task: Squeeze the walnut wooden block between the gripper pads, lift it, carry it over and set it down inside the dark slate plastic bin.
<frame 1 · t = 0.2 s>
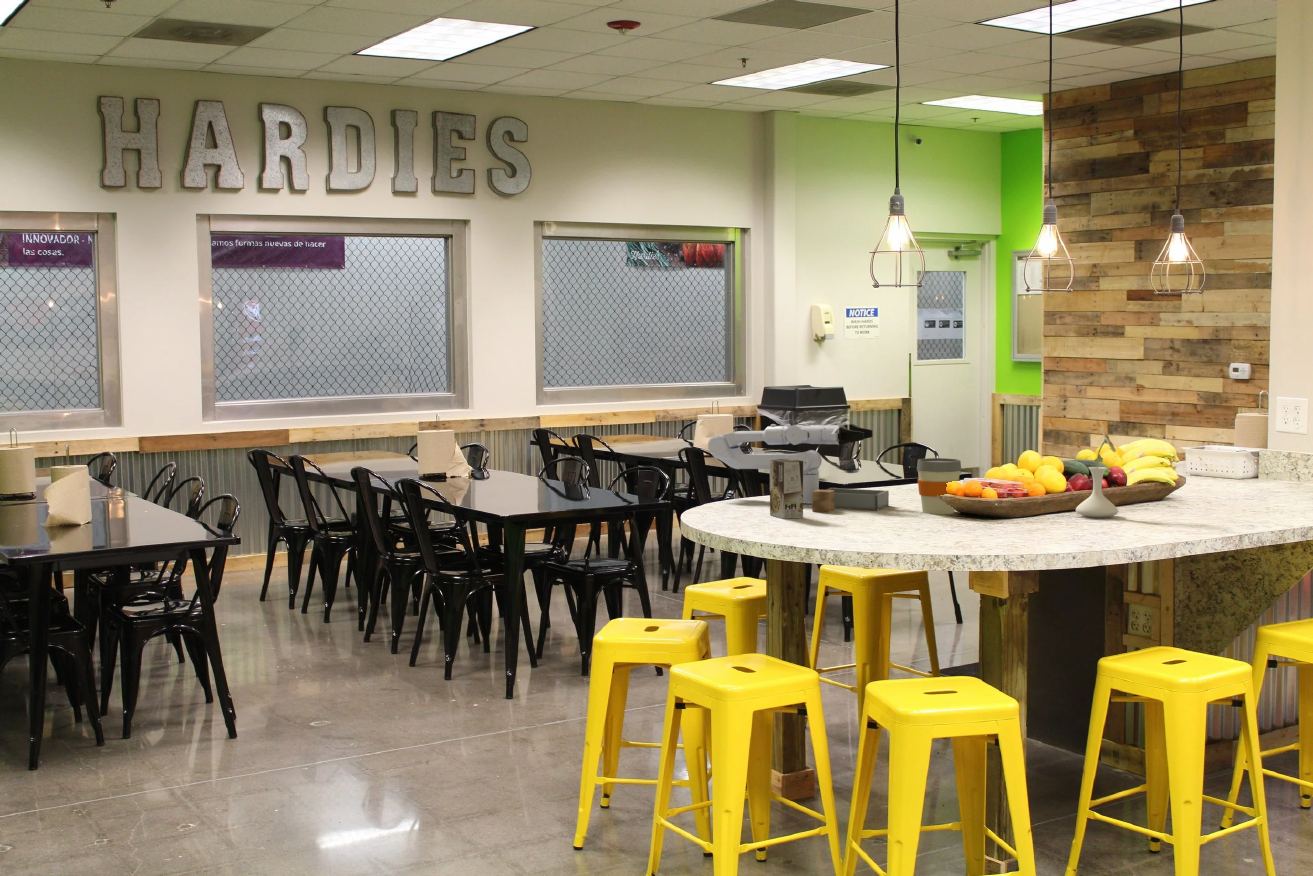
hand: (868, 434, 402), 21 cm above the counter, tool horizontal, fingers open, 7 cm apart
coffee box: (786, 517, 382), on the counter
reusable coffee cup: (938, 512, 389), on the counter
flower in vase: (1097, 517, 378), on the counter
slate bin: (853, 506, 402), on the counter
walnut block: (823, 511, 393), on the counter
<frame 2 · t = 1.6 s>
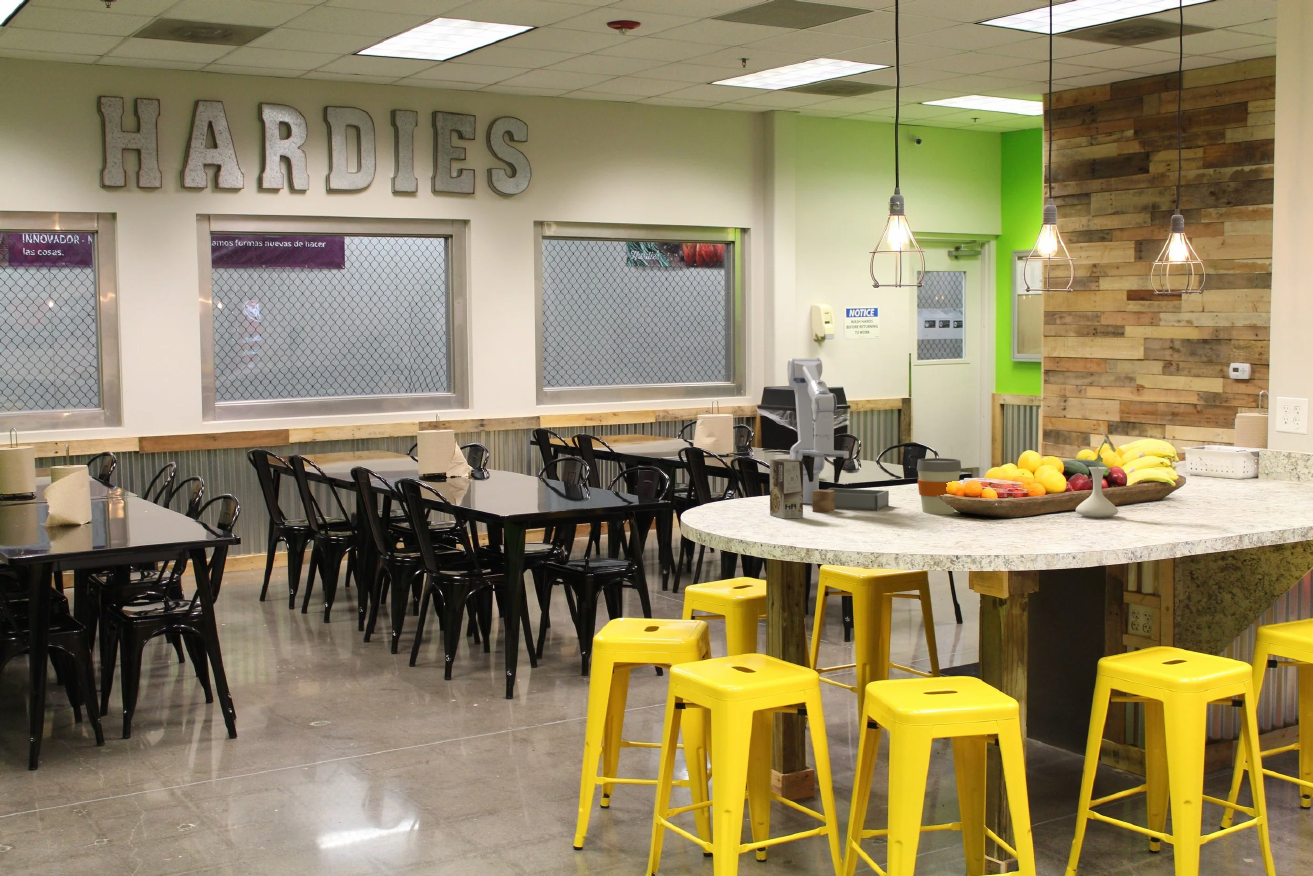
hand: (823, 482, 392), 8 cm above the counter, tool pointing down, fingers open, 7 cm apart
nothing on the counter moved.
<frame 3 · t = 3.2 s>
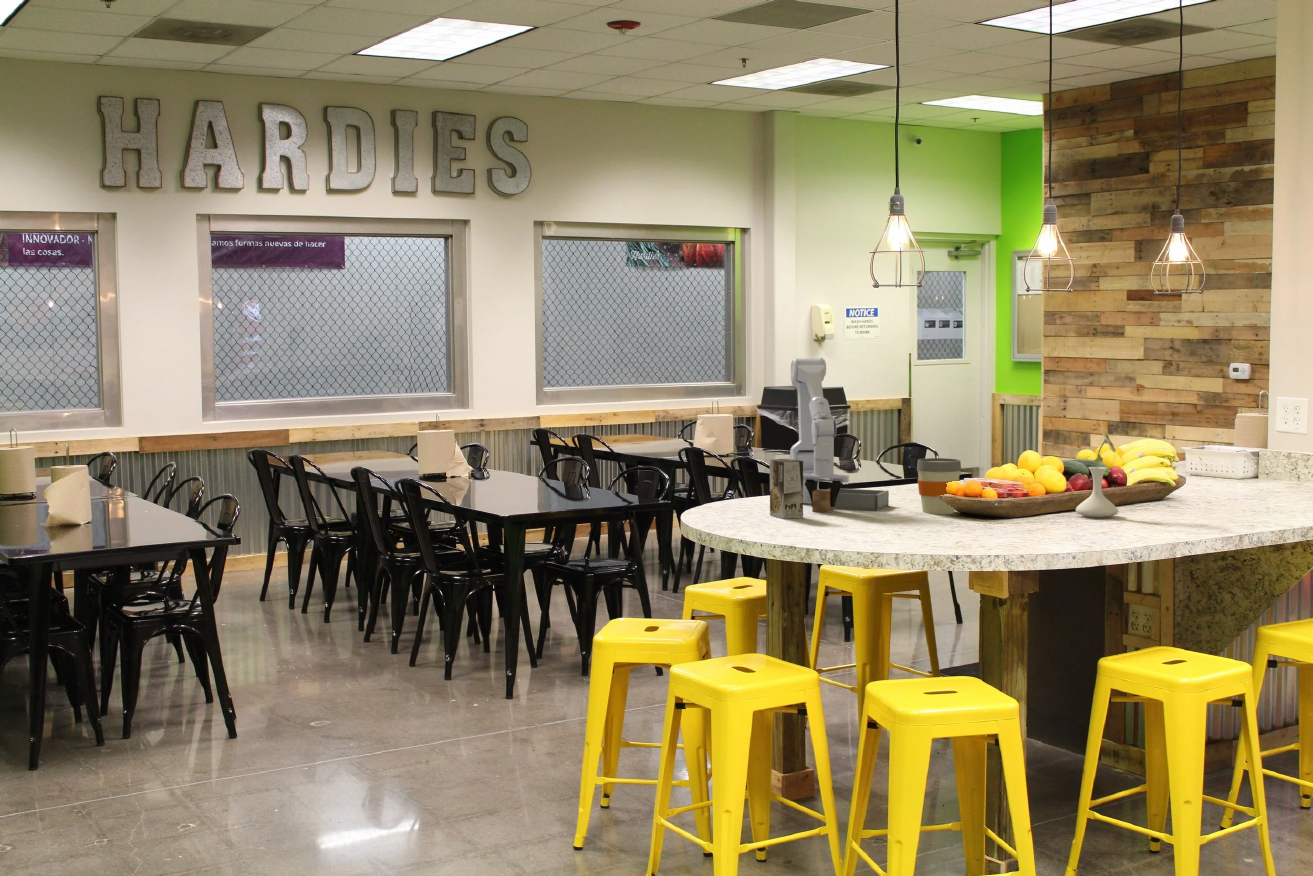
hand: (823, 506, 393), 1 cm above the counter, tool pointing down, fingers closed on walnut block, 5 cm apart
walnut block: (823, 511, 393), on the counter, touching gripper
everything else where it was.
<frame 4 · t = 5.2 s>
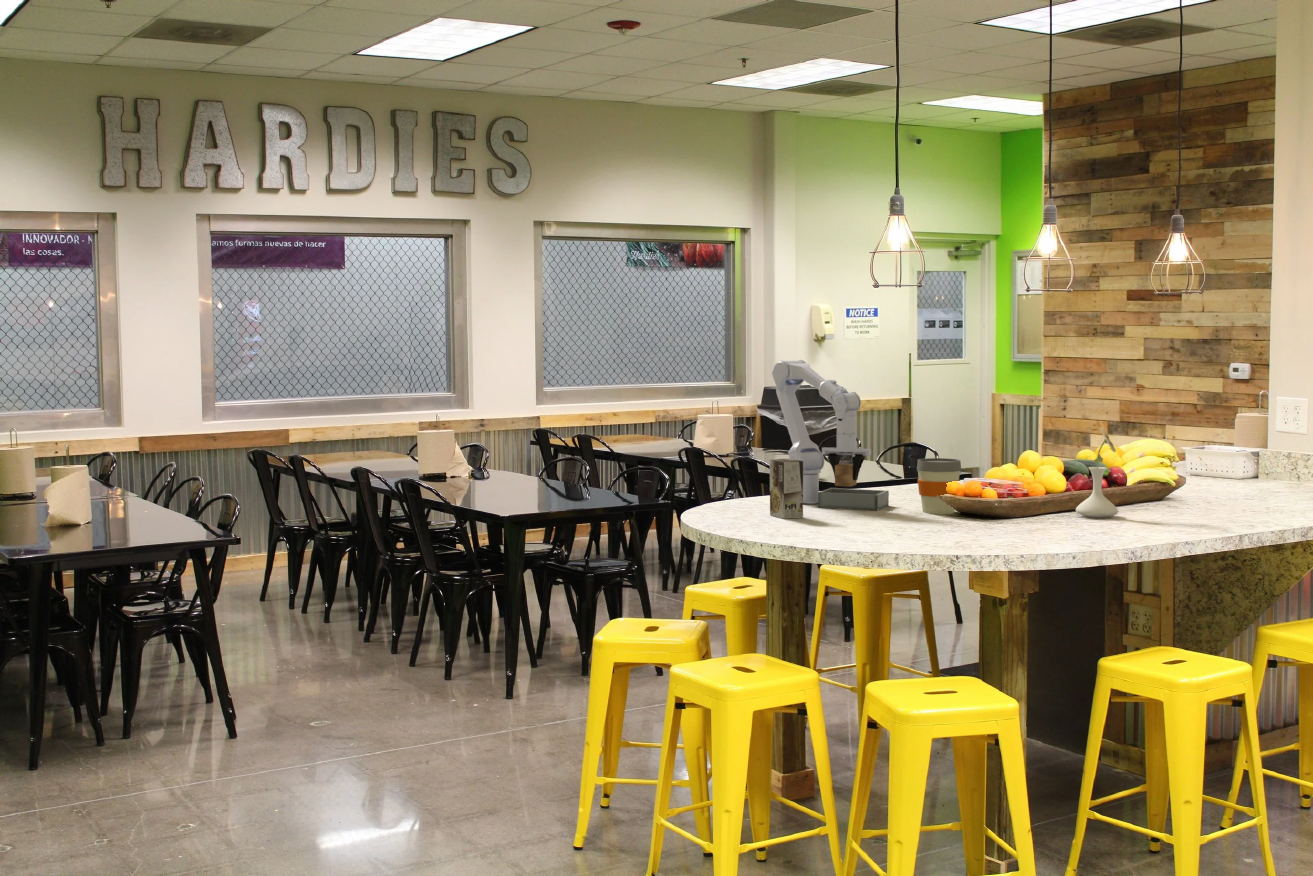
hand: (846, 479, 399), 8 cm above the counter, tool pointing down, fingers closed on walnut block, 5 cm apart
walnut block: (845, 485, 399), point 7 cm above the counter, touching gripper
everything else where it was.
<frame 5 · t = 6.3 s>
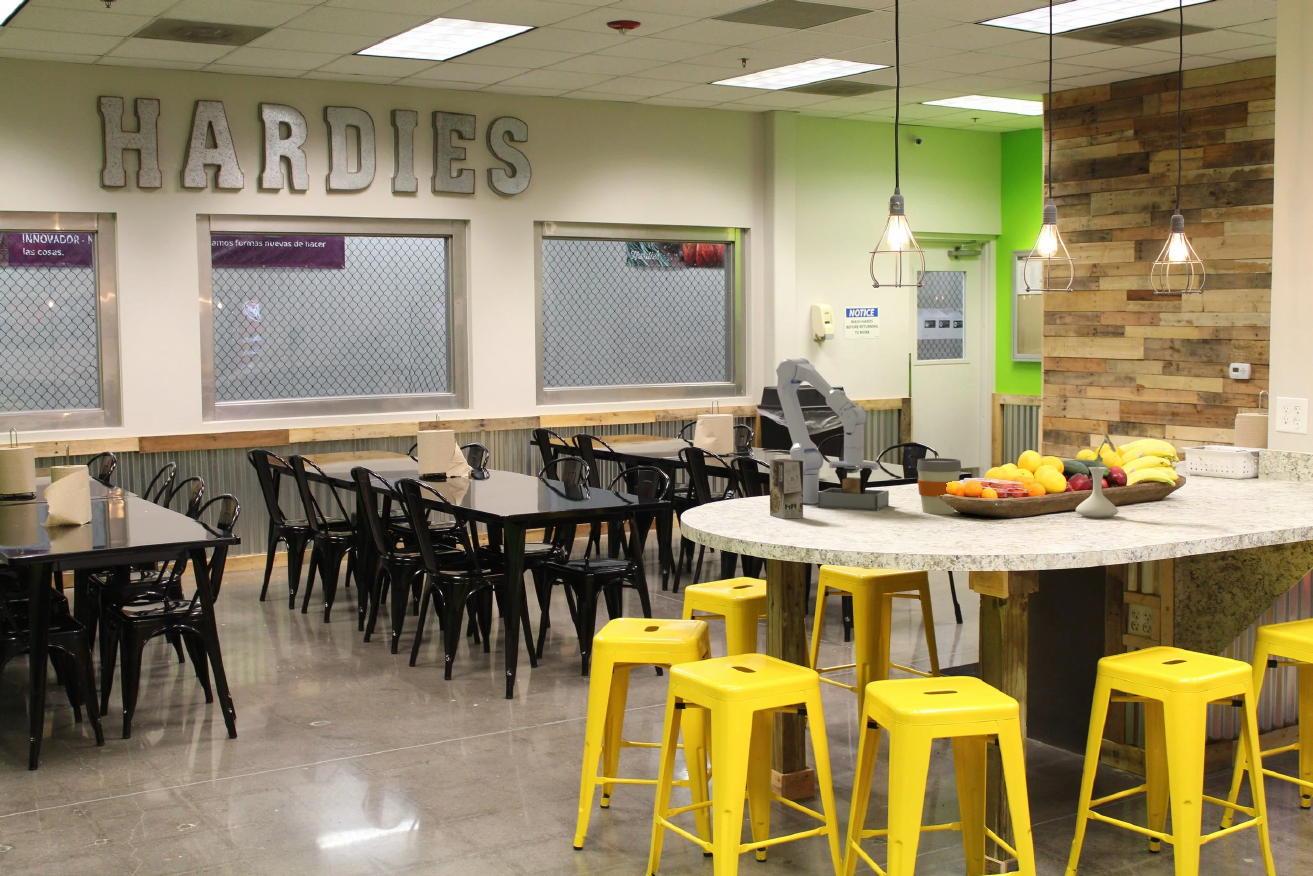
hand: (853, 493, 402), 4 cm above the counter, tool pointing down, fingers closed on walnut block, 5 cm apart
walnut block: (853, 498, 402), point 2 cm above the counter, touching gripper
everything else where it was.
when the fingers open (4 cm above the counter, at t = 7.2 s): walnut block drops 2 cm, resting on slate bin.
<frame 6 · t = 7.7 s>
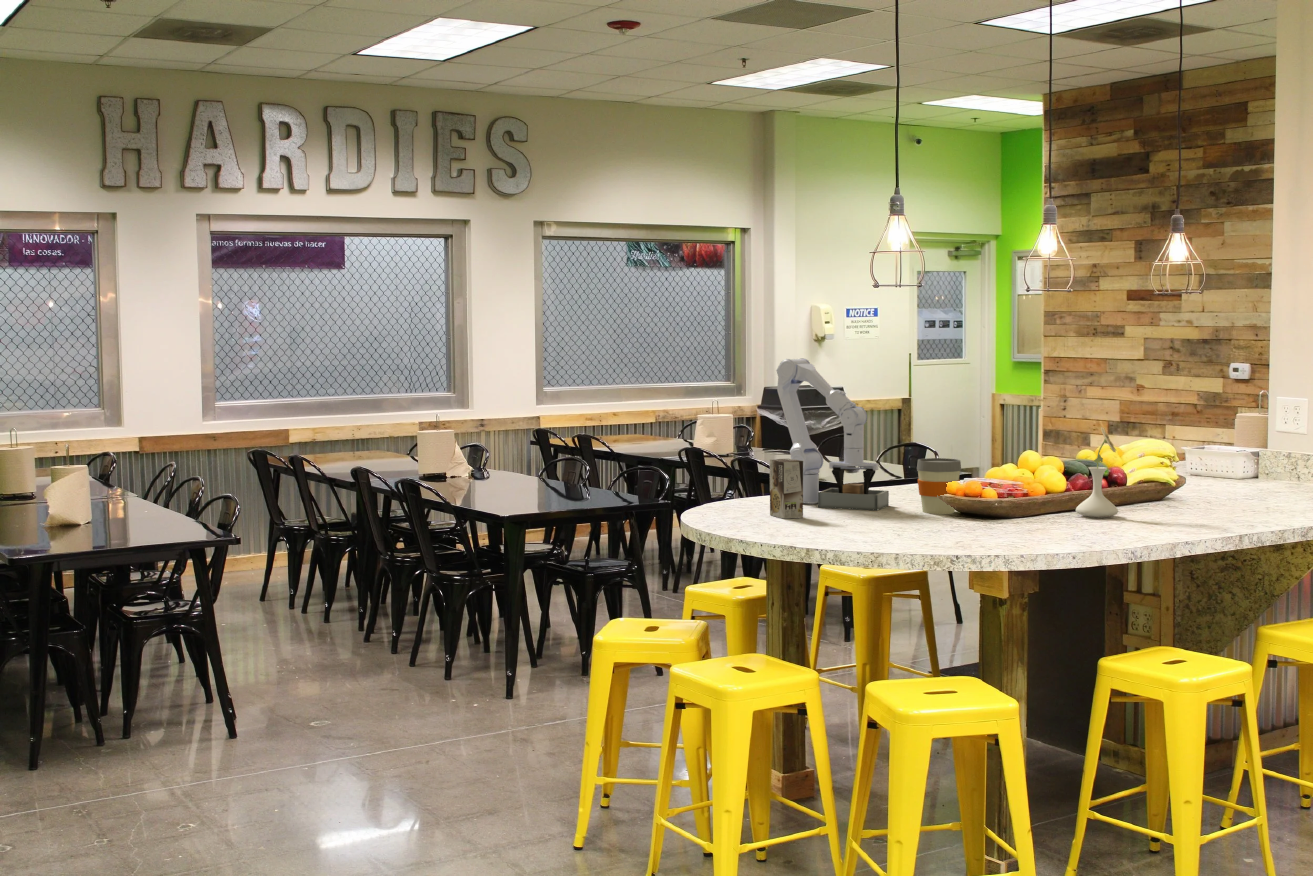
hand: (853, 493, 402), 4 cm above the counter, tool pointing down, fingers open, 7 cm apart
walnut block: (853, 504, 402), point 1 cm above the counter, touching slate bin
everything else where it was.
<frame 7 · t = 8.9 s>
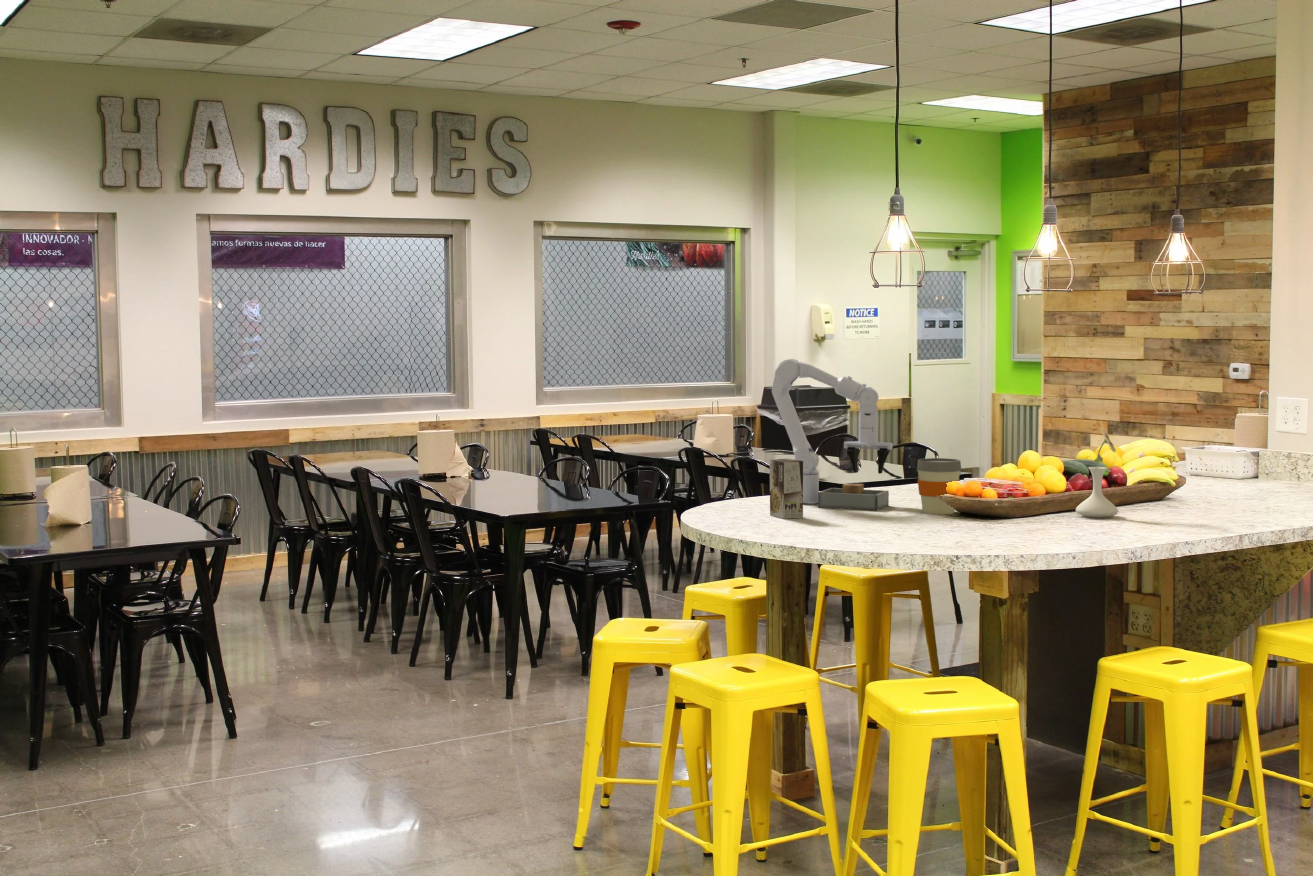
hand: (867, 472, 408), 9 cm above the counter, tool pointing down, fingers open, 7 cm apart
nothing on the counter moved.
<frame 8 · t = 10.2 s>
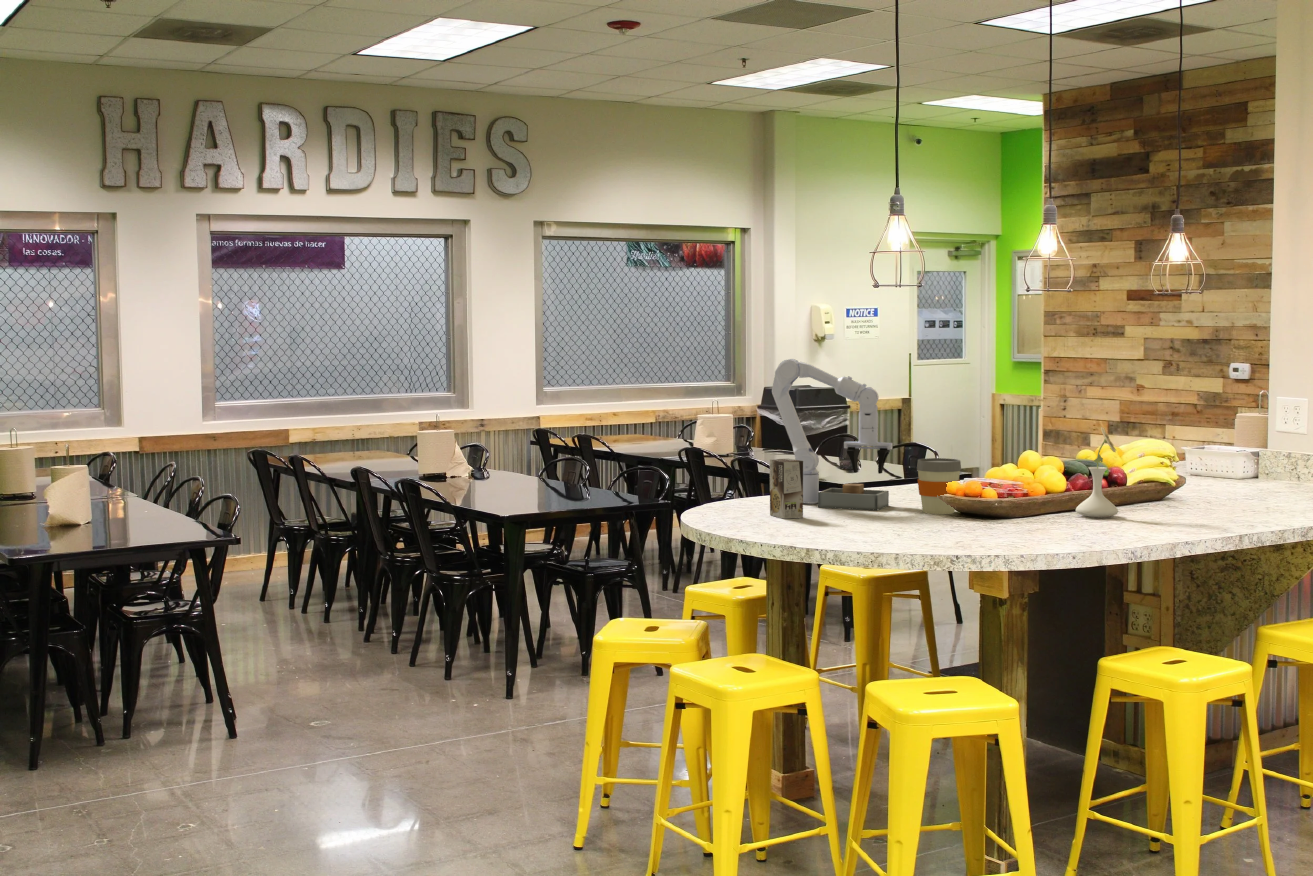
hand: (867, 472, 408), 9 cm above the counter, tool pointing down, fingers open, 7 cm apart
nothing on the counter moved.
at the end: walnut block inside the target area on the slate bin (0.3 cm from its centre), point 0.6 cm above the slate bin's base; walnut block tilted 0°; the gripper is holding nothing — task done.
